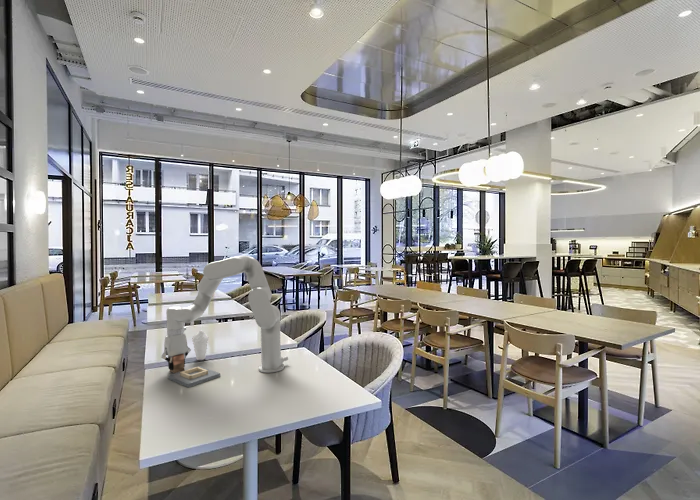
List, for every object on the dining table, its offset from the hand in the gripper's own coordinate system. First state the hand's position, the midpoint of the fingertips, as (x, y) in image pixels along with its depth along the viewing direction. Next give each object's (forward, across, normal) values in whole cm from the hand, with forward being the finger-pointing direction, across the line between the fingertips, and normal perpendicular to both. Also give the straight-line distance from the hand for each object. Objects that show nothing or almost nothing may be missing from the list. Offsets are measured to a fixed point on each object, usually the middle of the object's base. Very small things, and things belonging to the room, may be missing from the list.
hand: (176, 367), depth 189 cm
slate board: (+1, 0, +16) cm, 16 cm away
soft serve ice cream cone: (+2, -17, -7) cm, 18 cm away
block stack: (+2, 0, 0) cm, 2 cm away
